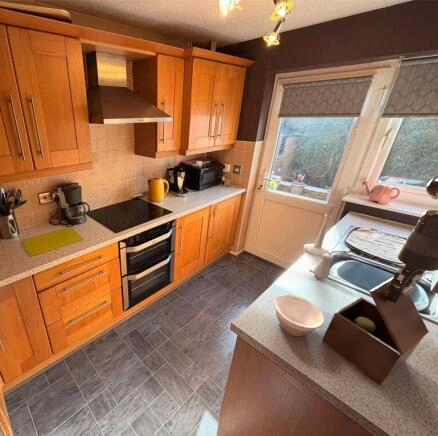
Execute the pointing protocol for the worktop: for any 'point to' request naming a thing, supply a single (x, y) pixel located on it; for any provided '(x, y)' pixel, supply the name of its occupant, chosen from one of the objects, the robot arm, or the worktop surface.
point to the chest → (365, 341)
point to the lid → (400, 317)
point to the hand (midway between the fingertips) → (396, 297)
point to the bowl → (297, 315)
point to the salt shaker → (323, 267)
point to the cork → (365, 324)
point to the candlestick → (321, 237)
